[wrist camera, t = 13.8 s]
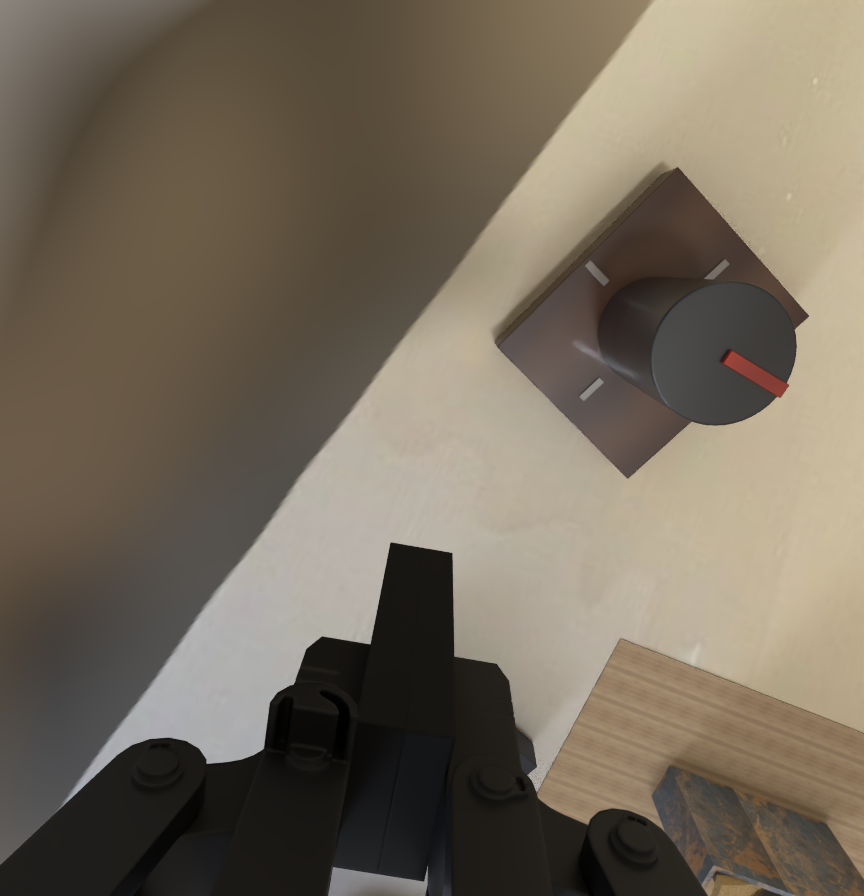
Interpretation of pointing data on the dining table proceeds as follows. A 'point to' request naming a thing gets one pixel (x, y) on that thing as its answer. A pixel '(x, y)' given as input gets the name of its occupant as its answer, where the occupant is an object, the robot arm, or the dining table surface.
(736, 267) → the dimmer panel
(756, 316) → the dimmer knob
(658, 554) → the dining table surface
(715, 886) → the architectural model on board
